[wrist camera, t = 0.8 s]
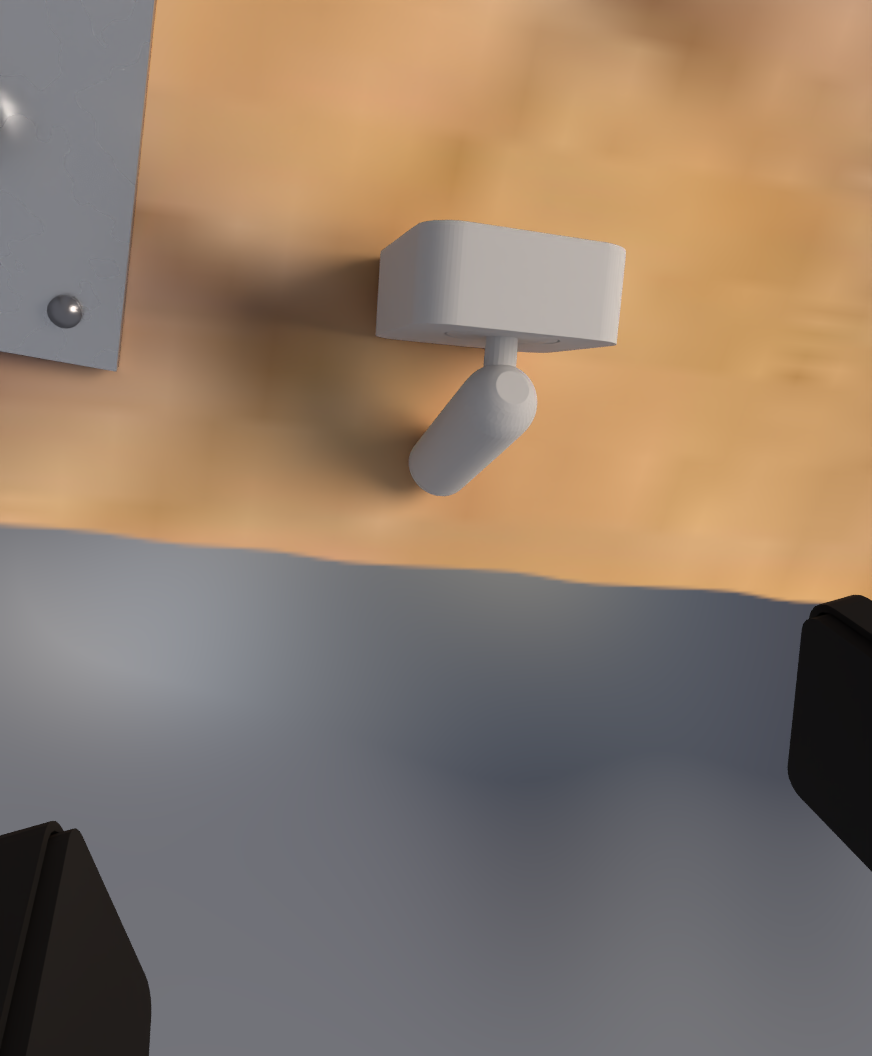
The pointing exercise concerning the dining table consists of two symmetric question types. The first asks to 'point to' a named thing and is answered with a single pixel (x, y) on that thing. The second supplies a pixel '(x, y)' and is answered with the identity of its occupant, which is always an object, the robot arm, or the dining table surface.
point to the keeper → (69, 172)
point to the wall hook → (492, 325)
